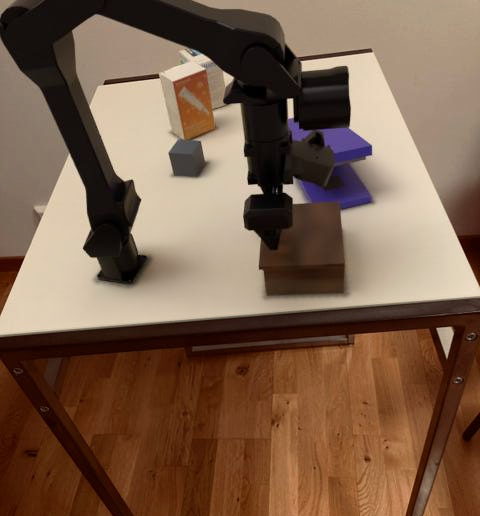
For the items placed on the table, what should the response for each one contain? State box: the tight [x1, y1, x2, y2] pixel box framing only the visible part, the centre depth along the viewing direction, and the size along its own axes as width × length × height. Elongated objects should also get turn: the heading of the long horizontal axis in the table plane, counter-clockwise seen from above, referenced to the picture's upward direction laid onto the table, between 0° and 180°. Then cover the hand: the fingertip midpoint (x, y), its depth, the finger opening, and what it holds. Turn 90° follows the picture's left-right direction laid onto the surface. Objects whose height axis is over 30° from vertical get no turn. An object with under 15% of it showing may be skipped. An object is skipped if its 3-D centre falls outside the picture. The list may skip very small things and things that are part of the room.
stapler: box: [288, 117, 373, 210], centre depth 93 cm, size 12×28×10 cm, turn 12°
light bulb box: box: [178, 48, 228, 110], centre depth 118 cm, size 11×7×11 cm, turn 25°
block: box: [167, 138, 206, 178], centre depth 101 cm, size 5×5×5 cm
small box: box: [158, 61, 216, 140], centre depth 108 cm, size 8×6×13 cm
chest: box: [262, 266, 346, 296], centre depth 78 cm, size 11×14×5 cm
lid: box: [258, 201, 346, 271], centre depth 74 cm, size 12×14×5 cm
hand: (274, 229), depth 76 cm, fingers open, 9 cm apart
